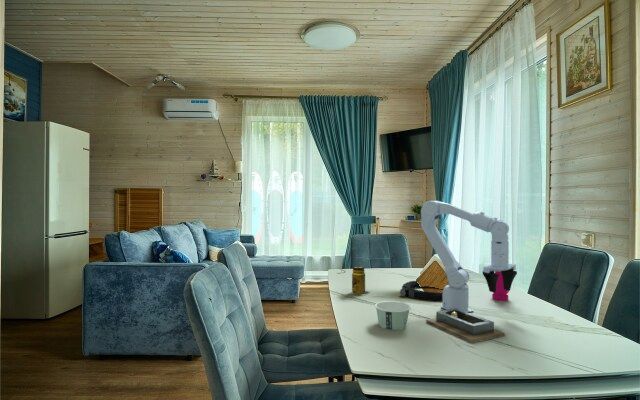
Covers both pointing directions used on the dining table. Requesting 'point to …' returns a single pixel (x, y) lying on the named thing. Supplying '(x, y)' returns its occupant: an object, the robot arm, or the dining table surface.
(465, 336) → the board
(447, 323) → the grey shallow tray
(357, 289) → the condiment
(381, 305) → the food container
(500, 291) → the pepper mill
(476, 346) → the dining table surface
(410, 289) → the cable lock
